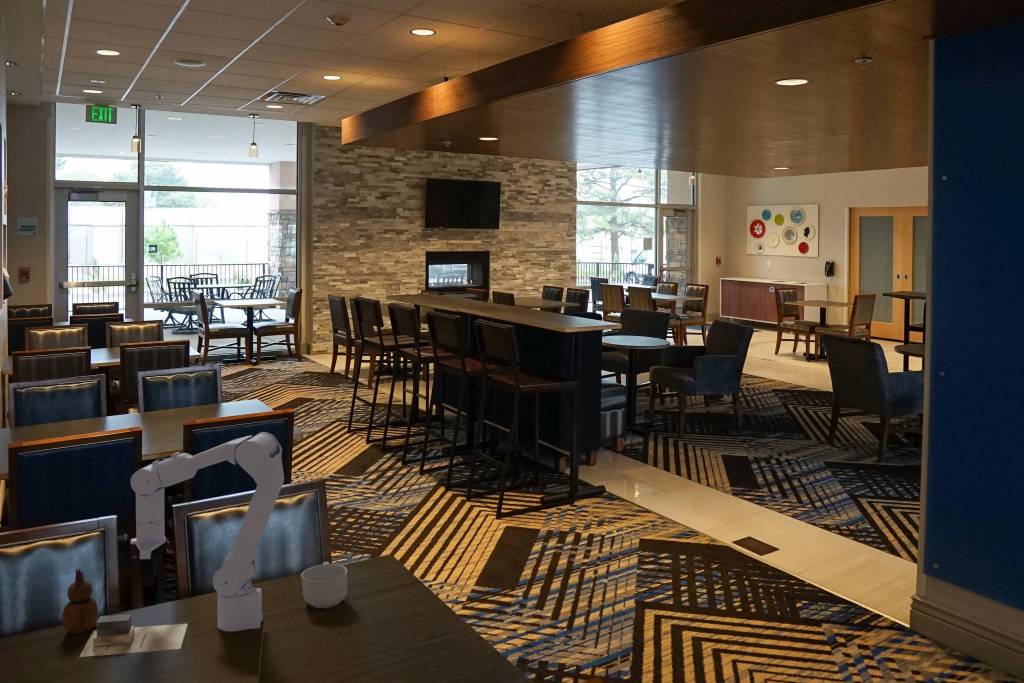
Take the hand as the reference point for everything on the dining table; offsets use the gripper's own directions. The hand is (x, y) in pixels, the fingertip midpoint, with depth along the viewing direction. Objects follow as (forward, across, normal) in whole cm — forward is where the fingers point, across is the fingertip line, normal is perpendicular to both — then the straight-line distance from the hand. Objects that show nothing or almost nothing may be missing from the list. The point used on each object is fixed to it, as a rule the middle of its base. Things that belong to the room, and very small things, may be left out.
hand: (151, 579), depth 181 cm
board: (+10, +10, -2) cm, 14 cm away
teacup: (+11, -6, +38) cm, 40 cm away
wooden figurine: (+11, +2, -14) cm, 18 cm away
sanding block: (+9, +10, -6) cm, 15 cm away
